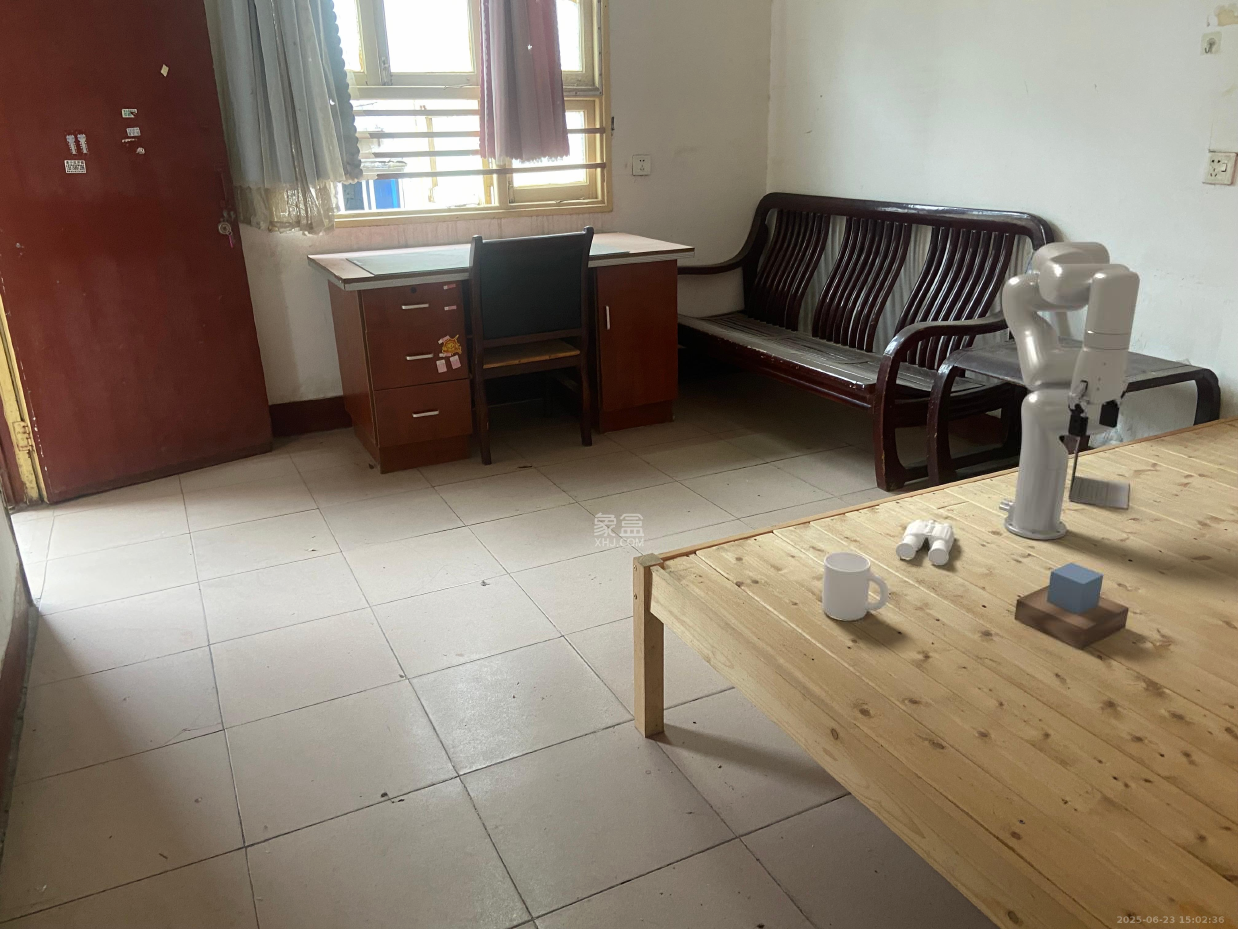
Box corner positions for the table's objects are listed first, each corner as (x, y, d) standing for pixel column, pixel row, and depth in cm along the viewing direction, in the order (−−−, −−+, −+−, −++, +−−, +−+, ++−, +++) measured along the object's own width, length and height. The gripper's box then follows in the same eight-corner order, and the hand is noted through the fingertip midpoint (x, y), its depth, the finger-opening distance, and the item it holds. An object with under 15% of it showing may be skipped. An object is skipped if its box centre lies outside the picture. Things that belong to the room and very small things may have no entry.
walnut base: (1014, 618, 164) (1016, 599, 163) (1057, 598, 171) (1060, 579, 169) (1081, 650, 154) (1085, 629, 153) (1125, 627, 160) (1128, 607, 159)
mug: (892, 612, 168) (897, 561, 165) (878, 631, 162) (882, 580, 158) (830, 596, 174) (833, 548, 171) (814, 615, 168) (817, 565, 164)
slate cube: (1046, 601, 162) (1051, 571, 160) (1066, 592, 165) (1071, 562, 163) (1078, 615, 157) (1083, 584, 155) (1098, 605, 160) (1103, 574, 158)
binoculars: (894, 560, 189) (896, 539, 187) (908, 531, 202) (909, 512, 201) (947, 569, 185) (949, 548, 183) (957, 538, 198) (959, 519, 196)
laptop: (1127, 511, 209) (1136, 458, 205) (1067, 502, 215) (1075, 450, 210) (1128, 485, 224) (1137, 435, 219) (1072, 478, 230) (1080, 429, 225)
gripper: (1113, 330, 170) (1100, 417, 176) (1057, 343, 162) (1045, 434, 167) (1153, 337, 164) (1138, 427, 170) (1098, 350, 156) (1083, 445, 161)
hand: (1092, 430), depth 169 cm, fingers open, 9 cm apart
